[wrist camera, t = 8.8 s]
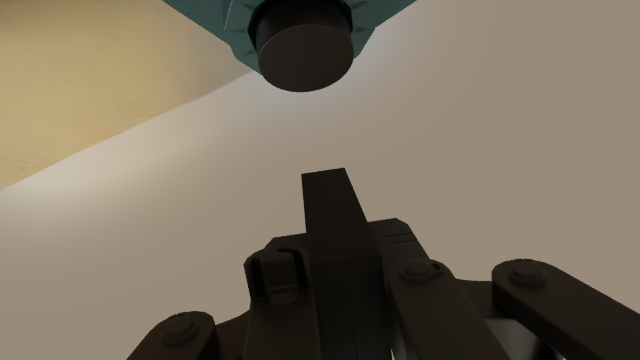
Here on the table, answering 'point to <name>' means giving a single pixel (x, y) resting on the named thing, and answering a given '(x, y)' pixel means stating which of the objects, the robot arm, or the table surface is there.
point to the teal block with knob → (243, 4)
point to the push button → (303, 43)
